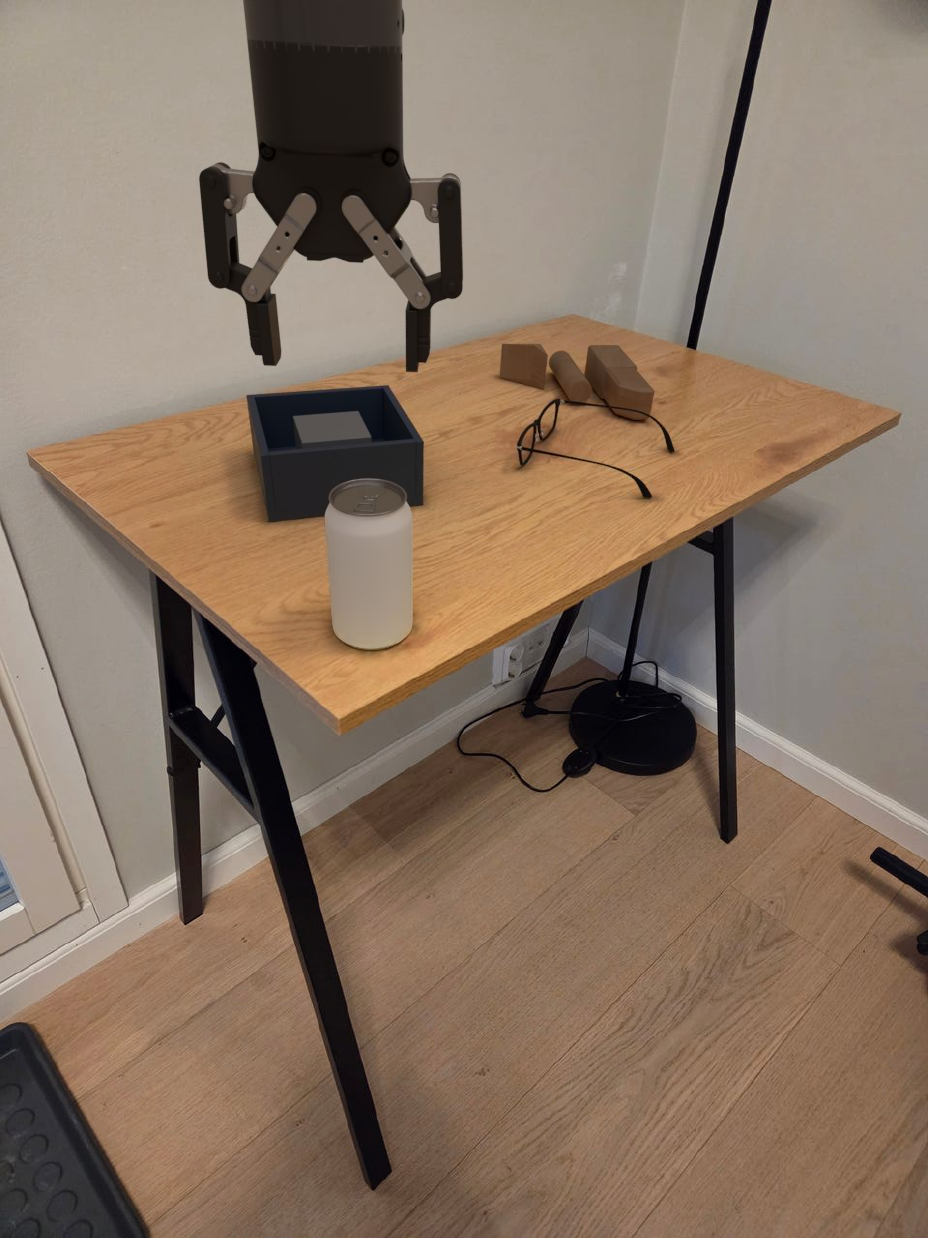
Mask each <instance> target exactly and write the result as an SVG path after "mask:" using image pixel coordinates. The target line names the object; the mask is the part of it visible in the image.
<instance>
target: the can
mask: <svg viewBox="0 0 928 1238" xmlns="http://www.w3.org/2000/svg"><path fill="white" fill-rule="evenodd" d="M406 499H407V494H406V492H405V490H404V489H403V488H402V487H401V486H399V485H397V484H395V483H393V482H390V481H387V480H382V479H373V478H364V479H355V480H350V481H347V482H344V483H341V484H339V485H338V486H336V487H335V488H333V489H332V491H331V492H330V494H329V502H330V503H329V505H328V507H327V509H326V512H325V516H324V533H325V545H326V546H325V547H326V548H325V549H326V561H327V575H328V585H329V586H328V588H329V589H328V590H329V600H330V612H331V614H330V615H331V623H332V624H331V625H332V630H333V633H334V634H335V636H336V637H337V638H338V639H339V640H340V641H341V642H343V643H344V644H346V645H347V646H349V647H352V648H354V649H357V650H362V651H380V650H385V649H388V648H392V647H394V646H396V645H398V644H400V643H401V642H402V641H403V640H404V639H406V638H407V636H408V635H409V634H410V633H411V632H412V630H413V629H412V628H413V621H414V587H413V586H414V584H413V583H414V544H413V543H414V527H413V526H414V523H413V521H414V520H413V512H412V508H411V506H409V505H408V503H407V501H406Z"/></svg>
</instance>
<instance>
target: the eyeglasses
mask: <svg viewBox="0 0 928 1238" xmlns="http://www.w3.org/2000/svg"><path fill="white" fill-rule="evenodd" d="M561 404H569V405H578V406H587V407H588V406H589V407H598V408H604V409H605V408H606V409H612V408H614V409H622V410H629V411H634V412H638V413H641V414H644V415H646V416H648V417H649V418H650V419H651V420H652V421H654V422H655V423H656V424H657V425H658V426H659V428H660V429H661V431H662V434H663V437H664V440H665V445H666V449H667V451H669V452H671V453H675V452H676V451H675V448H674V447H675V446H674V444H673V440H672V438H671V436H670V433H669V431H668V430H667V429H666V427H665V426H664V425H663V424H662V423H661V422H660V421H659V420H658V419H657V418H655V417H654V416H652V415H651V414H650V415H649V414H646V413H644V412H641V411H638V410H633V409H627V408H621V407H614V406H609V405H606V404H599V403H591V402H590V403H589V402H575V401H571V400H567V399H561V398H559V397H558V398H554V399H552V400H551V401H549V402H548V403H547V405H545V407H544V408H543V409H542V411H541V412H540V414H539V416H538V417H537V418H535V420H533V422H532V423H529V424H528V425H527V426H526V427H525V428H524V429H523V431H522V432H521V434H520V436H519V438H518V440H517V442H516V446H515V449H516V450H517V454H518V460H519V465H520V466H525V465H526V464H527V463H528V462H529V460H530V459H531V457H532V455H533V453H535V454H541V455H547V456H552V457H559V458H565V459H569V460H575V461H579V462H585V463H590V464H595V465H599V466H603V467H606V468H610V469H613V470H615V471H618V472H621V473H623V474H625V475H627V476H628V477H630V478H631V479H632V480H633V481H634V482H635V483H636V485H637V487H638V490H639V491H640V493H641V496H642V498H645V499H651V498H653V495H652V493H651V492H650V490H649V488H648V487H647V485H646V484H645V482H643V481H642V479H640V477H638V476H636V475H634V474H633V473H630V472H628V471H627V470H624V469H622V468H619V467H617V466H615V465H614V466H613V465H610V464H607V463H603V462H599V461H594V460H589V459H586V458H585V459H584V458H579V457H574V456H569V455H565V454H560V453H556V452H550V451H547V450H546V451H545V450H541V449H536V448H535V445H536V442H538V441H539V440H540V441H543V442H544V441H546V440H547V439H548V438H549V437H550V436H551V434H552V433H553V432H554V431H555V428H556V425H557V421H558V415H559V410H560V405H561ZM553 405H555V406H554V418H553V423H552V426H551V429H550V430H549V432H548V433H547V434H546V435H545V436H544V430H543V429H542V428H541V427H542V425H541V424H542V423H541V422H542V419H543V417H544V415H545V413H546V412H547V410H548V409H550V407H551V406H553ZM531 428H532V440H531V445H530V446H531V447H527V446H523V445H522V444H523V440H524V438H525V436H526V435H527V433H528V431H529V430H530V429H531ZM543 436H544V437H543ZM522 451H524V452H529V453H528V455H527V457H526V459H523V452H522ZM523 460H524V461H523Z"/></svg>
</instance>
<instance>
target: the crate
mask: <svg viewBox="0 0 928 1238" xmlns="http://www.w3.org/2000/svg"><path fill="white" fill-rule="evenodd" d="M246 402H247V403H246V404H247V413H248V421H249V426H250V435H251V443H252V451H253V457H254V462H255V466H256V470H257V475H258V479H259V484H260V489H261V495H262V498H263V503H264V507H265V511H266V517H267V521H268V523H272V522H280V521H281V522H282V521H290V520H299V519H308V518H309V519H310V518H316V517H325V512H326V509H327V507H328V505H329V503H330V502H329V494H330V492H331V491H332V489H333V488H335V487H336V486H338V485H339V484H341V483H344V482H347V481H350V480H355V479H364V478H373V479H382V480H387V481H390V482H393V483H395V484H397V485H399V486H401V487H402V488H403V489H404V490H405V492H406V494H407V499H406V501H407V503H408V505H409V507H416V506H417V507H418V506H423V505H424V461H425V460H424V456H425V455H424V453H425V452H424V451H425V449H424V448H425V442H424V440H423V438H422V436H421V434H420V433H419V432H418V430H417V428H416V427H415V425H414V424H413V422H412V420H411V419H410V417H409V416H408V414H407V412H406V411H405V409H404V408H403V406H402V405H401V403H400V402H399V400H398V398H397V396H396V395H395V393H394V391H392V389H391V387H390V385H389V384H385V385H384V384H383V385H371V386H370V385H368V386H355V387H354V386H353V387H344V388H343V387H340V388H327V389H325V388H324V389H313V390H299V391H297V390H296V391H283V392H282V391H281V392H270V393H253V394H246ZM352 411H358V412H359V414H360V416H361V418H362V419H363V421H364V423H365V425H366V427H367V429H368V431H369V433H370V435H371V437H372V443H362V444H350V445H339V446H328V447H316V448H305V449H296V445H295V434H294V424H293V416H301V415H313V414H326V413H339V412H352Z"/></svg>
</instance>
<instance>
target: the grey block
mask: <svg viewBox="0 0 928 1238" xmlns="http://www.w3.org/2000/svg"><path fill="white" fill-rule="evenodd" d="M293 424H294V434H295V445H296V449H305V448H316V447H328V446H339V445H350V444H362V443H372V437H371V435H370V433H369V431H368V429H367V427H366V425H365V423H364V421H363V419H362V418H361V416H360V414H359V412H358V411H352V412H339V413H326V414H313V415H301V416H293Z"/></svg>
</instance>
